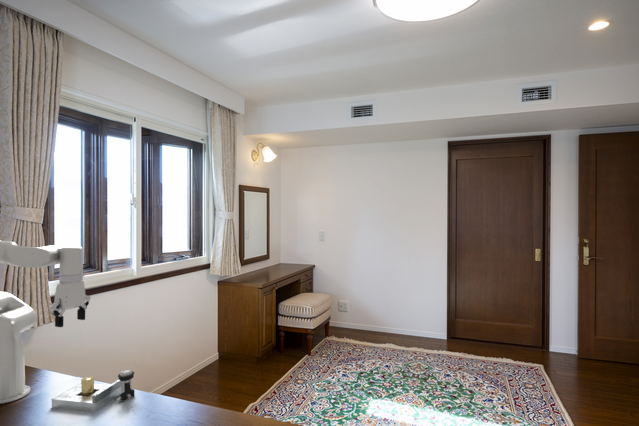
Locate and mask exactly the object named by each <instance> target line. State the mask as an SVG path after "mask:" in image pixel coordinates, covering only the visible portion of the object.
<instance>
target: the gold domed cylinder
mask: <svg viewBox="0 0 639 426" xmlns="http://www.w3.org/2000/svg"><path fill="white" fill-rule="evenodd" d="M80 382H81V390H82V396H87V397H89V396H90V395H92V394H94V384H95V377H94V376H92V375H91V376H86V377H84V378H82V379H81V380H80Z"/></svg>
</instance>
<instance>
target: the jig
mask: <svg viewBox="0 0 639 426" xmlns="http://www.w3.org/2000/svg"><path fill="white" fill-rule="evenodd" d="M120 393H121V381H120V380H119V379H117V380H116V381H114V382H112V383H111V384H104V383H103V384H102V383H101V384H100V383H94V394H92V395H90V396H89V397H87V396H82V390H81V383H79V384H77V385H74V386H73V387H71V388H69V389H68V390H67V389H66V391H64V392H62V393H60V394H58V395H57V396H55V397H53V398H52V399H51V408H52V409H53V408H54V409H63V410H73V411H80V412H82V411H83V412H92V413H97V412H98V411H99V410H101V409H103V408H104V407H106V405H108V404H110V403H111V402H113V401H114V400H115V398H116V399H118V398H119V394H120ZM112 400H113V401H112Z"/></svg>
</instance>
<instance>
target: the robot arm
mask: <svg viewBox="0 0 639 426" xmlns="http://www.w3.org/2000/svg"><path fill="white" fill-rule="evenodd" d="M0 264H3V265H8V266H12V267H17V268H31V269H33V268H34V269H39V268H41V269H42V268H46V267H49V266H50V267H51V266H55V265H59V283H57V285H56V288H55V291H54V292H55V293H54V302H53V303H51V304H50V305H49V306H48V309H49V311H50V313H51V314H52V316H53V317H54V327H56V328H63V327H64V316H63V314H64V313H65V312H66V311H69V310H72V309H75V308H77V313H76V314H77V315H76V316H77V317H76V319H77V320H79V321H85V320H86V310H87V308H88V305H89V304H90V300H91V296H90V295H87V294H86V289H85V282H84V279H83V278H84V277H85V275H84V249H83V247H82V246H80V245H79V246H78V245H68V246H66V245H65V246H64V245H56V244H53V245H45V246H40V247H38V246H37V247H34V246H21V245H18V244H17V242H14V241H10V240H1V239H0ZM37 321H38V315H37V312H36V311H35V310H34V308H32V307H31V306H30V305H28V304H27V303H25V302H24V301H22V300H21V299H19V298H18V297H16V296H14V295H13V294H12V293H9V292H7V291H2V290H1V291H0V404H5V403H10V402H14V401H16V400H19V399H21V398H24V397H25V396H27V395H28V394H29V393H30V392H31V387H30V386H29V385H26V372H25V371H26V368H25V346H24V341H23V339H22V338H21V334H22V333H24V332H25V331H28V330H30V329H31V328H33V326H36V325H35V324H36V323H37Z"/></svg>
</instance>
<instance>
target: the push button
mask: <svg viewBox="0 0 639 426" xmlns="http://www.w3.org/2000/svg"><path fill="white" fill-rule="evenodd" d="M134 377H135V371H133V370H132V369H129V368H128V369H124V370H122V371H120V373H119V374H118V375H117V378H118V380H120V381H121V393H120V394H119V397H117V398H116V400H117V401H116V403H120V402H122V403H124V402H126V401H127V400H131V398H134V397H135V396H136V395H135V394H136V393H135V389H134V388H133V385H132V379H133V378H134Z"/></svg>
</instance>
